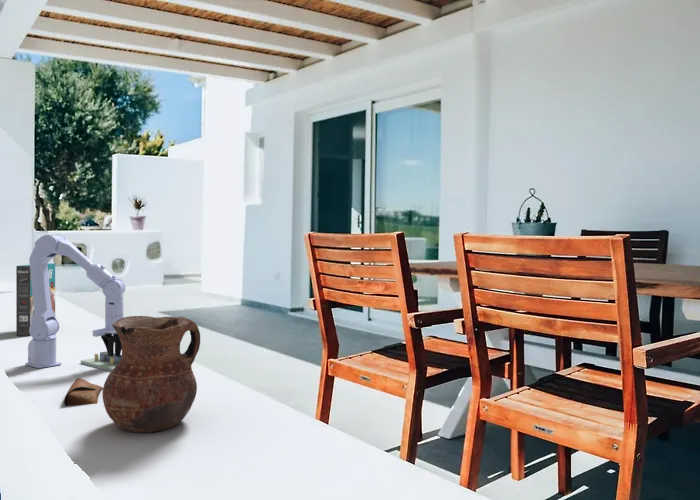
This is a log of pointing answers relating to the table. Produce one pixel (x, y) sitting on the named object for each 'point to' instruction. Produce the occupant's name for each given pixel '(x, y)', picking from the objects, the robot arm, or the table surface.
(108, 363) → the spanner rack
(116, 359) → the dark grey spoon shape
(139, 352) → the jug
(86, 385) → the sunglasses case
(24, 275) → the cake mix box
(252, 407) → the table surface
